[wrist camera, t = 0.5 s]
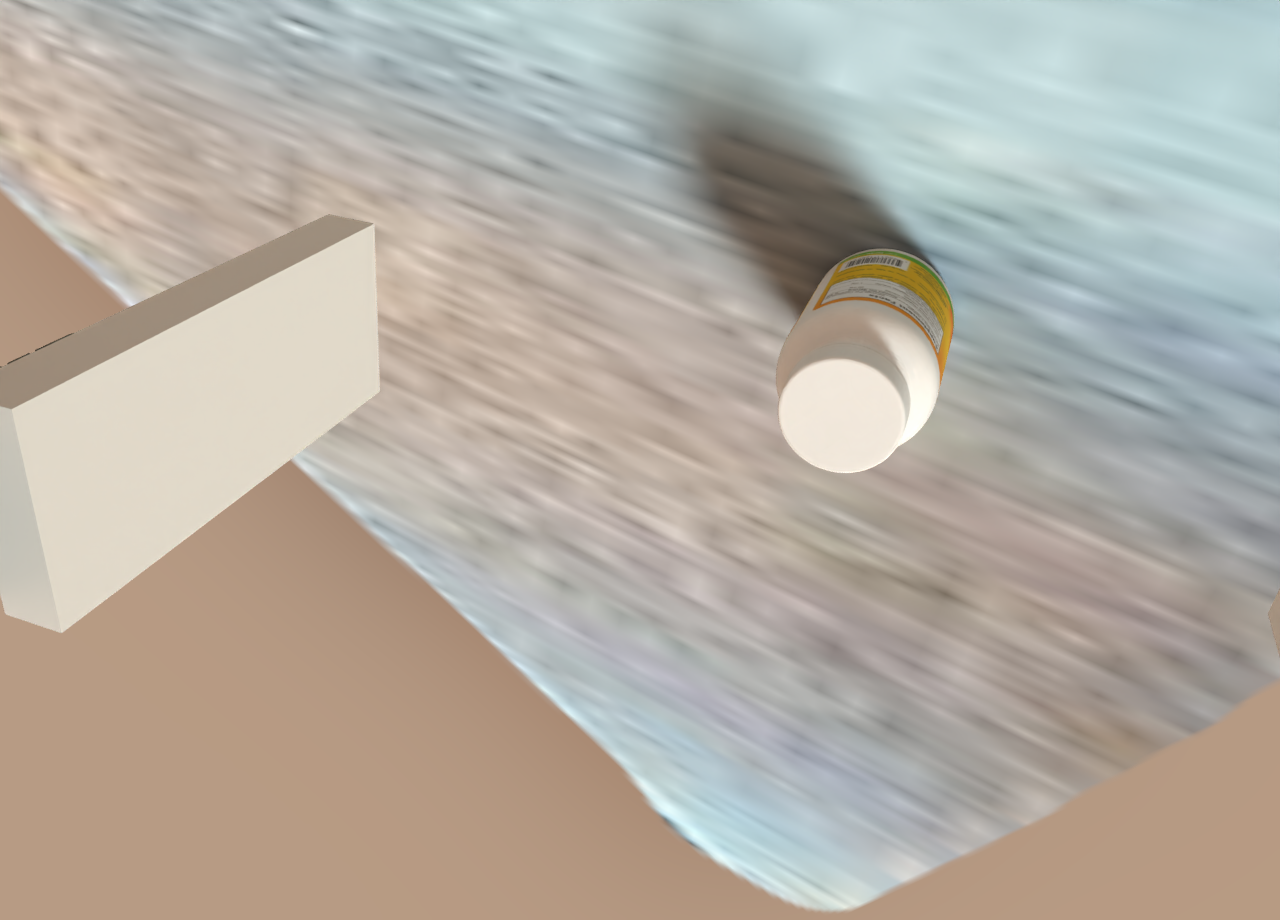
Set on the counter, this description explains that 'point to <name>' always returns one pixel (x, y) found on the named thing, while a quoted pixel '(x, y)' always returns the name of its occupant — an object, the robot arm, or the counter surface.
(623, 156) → the counter surface
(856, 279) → the supplement bottle
